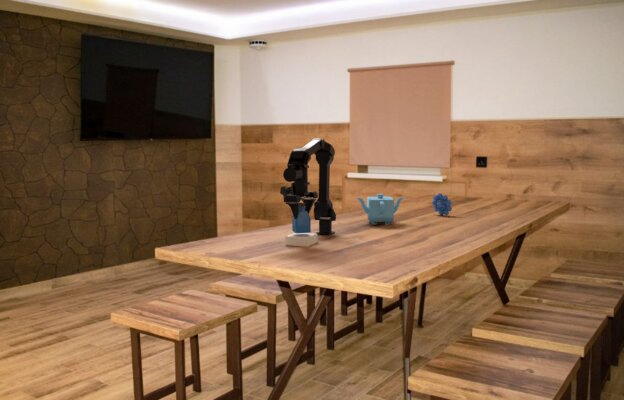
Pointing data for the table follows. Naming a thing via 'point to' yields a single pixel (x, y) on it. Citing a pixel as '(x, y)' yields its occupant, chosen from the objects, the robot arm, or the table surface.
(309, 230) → the perfume bottle
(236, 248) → the table surface
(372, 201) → the teakettle
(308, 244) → the cream block
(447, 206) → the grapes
